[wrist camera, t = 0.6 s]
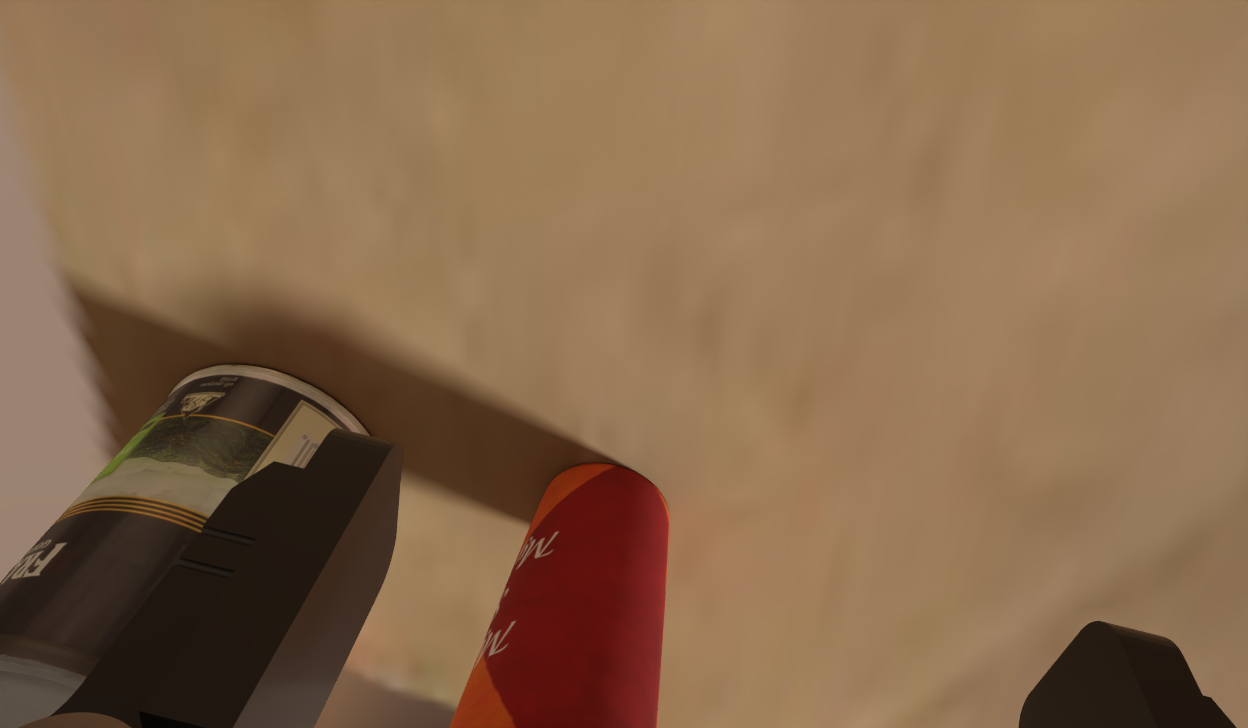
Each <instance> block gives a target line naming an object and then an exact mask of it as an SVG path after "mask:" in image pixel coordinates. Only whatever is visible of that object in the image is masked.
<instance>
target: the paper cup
mask: <svg viewBox="0 0 1248 728" xmlns="http://www.w3.org/2000/svg"><path fill="white" fill-rule="evenodd" d="M668 542H669V512H668V506H667V503H666V501H665V499H664V497H663V495H662V494H661V492H660V491H659V490H658V488H657V487H656V486H655V485H654V484H653V483H651V482H650V481H649V480H648V479H646V478H645V477H643V476H642V475H640V474H638V473H636V472H634V471H632V470H630V469H627V468H624V467H621V466H617V465H612V464H605V463H588V464H581V465H577V466H574V467H571V468H569V469H566V470H564V471H563V472H561V473H560V474H558V475H557V476H556V477H555V478H554V479H553V480H552V481H551V483H550V484H549V486H548V487H547V489H546V491H545V493H544V495H543V497H542V500H541V502H540V504H539V506H538V509H537V511H536V513H535V516H534V518H533V520H532V523H531V525H530V528H529V530H528V533H527V535H526V538H525V540H524V542H523V545H522V547H521V550H520V552H519V555H518V557H517V560H516V562H515V565H514V567H513V570H512V572H511V575H510V577H509V579H508V582H507V584H506V587H505V589H504V592H503V594H502V597H501V599H500V602H499V604H498V607H497V609H496V612H495V614H494V617H493V619H492V622H491V624H490V627H489V629H488V632H487V634H486V637H485V639H484V642H483V645H482V647H481V650H480V652H479V655H478V657H477V660H476V662H475V665H474V667H473V670H472V672H471V675H470V677H469V680H468V682H467V685H466V687H465V690H464V692H463V695H462V697H461V700H460V702H459V705H458V707H457V710H456V712H455V715H454V717H453V720H452V722H451V725H450V727H449V728H656V726H657V712H658V698H659V683H660V669H661V655H662V640H663V625H664V610H665V595H666V578H667V562H668Z"/></svg>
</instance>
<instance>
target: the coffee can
mask: <svg viewBox="0 0 1248 728" xmlns="http://www.w3.org/2000/svg"><path fill="white" fill-rule="evenodd" d="M334 428H340V429H344V430H348V431H352V432H356V433H360V434H364V435H368V436H370V435H369V434H368V432H367V431H366V429H365V428H364V427H363V426H362V425H361V424H360V422H359V421H358V420H357V419H356V418H355V417H354V416H353V415H352V414H351V413H350V412H349V411H348V410H347V409H345V408H344V407H343V406H342V405H340V404H339V403H338V402H337V401H335V400H334V399H333V398H331V397H330V396H328V395H326V394H325V393H323V392H322V391H320V390H319V389H317V388H316V387H314V386H312V385H310V384H307V383H305V382H302V381H301V380H299V379H297V378H294V377H292V376H290V375H287V374H284V373H281V372H278V371H275V370H271V369H267V368H263V367H257V366H250V365H218V366H213V367H209V368H205V369H202V370H199V371H197V372H195V373H193V374H191V375H189V376H187V377H186V378H185V379H183V380H182V381H181V382H180V383H179V384H178V385H177V386H176V387H175V388H174V389H173V391H172V392H171V393H170V395H169V396H168V398H167V399H166V401H165V402H164V403H163V404H162V405H161V406H160V407H159V408H158V410H157V411H156V412H155V413H154V414H153V416H152V417H151V418H150V419H149V420H148V421H147V422H146V423H145V424H144V425H143V426H142V427H141V429H140V430H139V431H138V432H137V433H136V434H135V435H134V436H133V437H132V438H131V440H130V441H129V442H128V443H127V444H126V445H125V446H124V448H123V449H122V450H121V451H120V452H119V453H118V454H117V455H116V456H115V457H114V459H113V460H112V461H111V462H110V463H109V464H108V465H107V466H106V467H105V468H104V470H103V471H102V472H101V473H100V474H99V475H98V476H97V477H96V478H95V479H94V481H93V482H92V483H91V484H90V485H89V486H88V487H87V488H86V489H85V490H84V492H83V493H82V494H81V495H80V496H79V497H78V498H77V499H76V500H75V501H74V502H73V503H72V504H71V506H70V507H69V508H68V509H67V510H66V511H65V512H64V513H63V514H62V516H61V517H60V518H59V519H58V520H57V521H56V522H55V523H54V524H53V525H52V526H51V527H50V529H49V530H48V531H47V532H46V533H45V534H44V535H43V536H42V538H41V539H40V540H39V541H38V542H37V543H36V544H35V545H34V546H33V547H32V548H31V549H30V551H29V552H27V554H26V555H25V556H24V557H23V558H22V559H21V560H20V562H19V563H17V564H16V565H15V566H14V568H13V569H12V570H11V571H10V572H9V573H8V574H7V576H6V577H5V578H4V579H3V580H2V582H1V583H0V728H19V727H21V726H23V725H25V724H28V723H31V722H34V721H37V720H39V719H42V718H46V717H49V716H50V715H52V714H53V713H54V712H55V711H56V710H58V709H59V708H60V707H61V706H62V705H63V704H64V703H65V702H66V701H67V700H68V699H69V698H70V697H71V696H72V695H73V694H74V693H75V691H76V690H77V689H78V688H79V687H80V685H81V684H82V683H83V682H84V680H85V679H86V678H87V676H88V675H89V674H90V672H91V671H92V670H93V668H94V667H95V666H96V665H97V663H98V662H99V661H100V659H101V658H102V657H103V655H104V654H105V653H106V651H107V650H108V649H109V648H110V646H111V645H112V644H113V642H114V641H115V640H116V638H117V637H118V636H119V635H120V633H121V632H122V631H123V629H124V628H125V627H126V625H127V624H128V623H129V621H130V620H131V619H132V618H133V616H134V615H135V614H136V612H137V611H138V610H139V608H140V607H141V606H142V604H143V603H144V602H145V601H146V599H147V598H148V597H149V595H150V594H151V593H152V591H153V590H154V589H155V587H156V586H157V585H158V584H159V582H160V581H161V580H162V578H163V577H164V576H165V574H166V573H167V572H168V571H169V569H170V568H171V567H172V565H175V566H176V564H177V563H178V560H179V556H180V555H181V554H182V552H183V551H184V550H185V548H186V547H187V546H188V544H189V543H190V542H191V540H192V539H193V538H194V537H195V535H196V534H197V533H199V534H200V533H201V531H202V529H203V525H204V523H205V522H206V521H207V520H208V518H209V517H210V516H211V514H212V513H213V512H214V510H215V509H216V508H217V507H218V505H219V504H220V503H221V501H222V500H223V499H224V497H225V496H226V495H227V493H228V492H229V491H230V490H231V488H233V487H234V486H236V485H237V484H239V483H240V482H242V481H244V480H245V479H247V478H248V477H250V476H252V475H253V474H255V473H256V472H258V471H259V470H261V469H263V468H264V467H266V466H267V465H269V464H270V463H272V462H274V461H276V462H280V463H284V464H288V465H292V466H296V467H300V468H305V466H306V465H307V463H308V462H309V460H310V459H311V457H312V456H313V454H314V453H315V452H316V450H317V449H318V447H319V446H320V444H321V443H322V441H323V440H324V438H325V437H326V436H327V434H328V433H329V432H330V431H331V430H333V429H334Z"/></svg>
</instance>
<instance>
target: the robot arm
mask: <svg viewBox="0 0 1248 728" xmlns="http://www.w3.org/2000/svg"><path fill="white" fill-rule="evenodd" d="M401 467H402V447H401V445H400V444H399V443H396V442H392V441H388V440H384V439H380V438H376V437H372V436H368V435H364V434H360V433H356V432H352V431H348V430H344V429H340V428H334V429H333V430H331V431H330V432H329V433H328V434H327V436H326V437H325V438H324V440H323V441H322V443H321V444H320V446H319V447H318V449H317V450H316V452H315V453H314V454H313V456H312V457H311V459H310V460H309V462H308V463H307V465H306V466H305V468H300V467H296V466H292V465H288V464H284V463H280V462H276V461H274V462H272V463H270V464H269V465H267V466H266V467H264V468H263V469H261V470H259V471H258V472H256V473H255V474H253V475H252V476H250V477H248V478H247V479H245V480H244V481H242V482H240V483H239V484H237V485H236V486H234V487H233V488H231V490H230V491H229V492H228V493H227V495H226V496H225V497H224V499H223V500H222V501H221V503H220V504H219V505H218V507H217V508H216V509H215V510H214V512H213V513H212V514H211V516H210V517H209V518H208V520H207V521H206V522H205V523H204V525H203V529H202V531H201V533H200V534H199V533H197V534H196V535H195V537H194V538H193V539H192V540H191V542H190V543H189V544H188V546H187V547H186V548H185V550H184V551H183V552H182V554H181V555H180V556H179V560H178V563H177V564H176V566H175V565H172V567H171V568H170V569H169V571H168V572H167V573H166V574H165V576H164V577H163V578H162V580H161V581H160V582H159V584H158V585H157V586H156V587H155V589H154V590H153V591H152V593H151V594H150V595H149V597H148V598H147V599H146V601H145V602H144V603H143V604H142V606H141V607H140V608H139V610H138V611H137V612H136V614H135V615H134V616H133V618H132V619H131V620H130V621H129V623H128V624H127V625H126V627H125V628H124V629H123V631H122V632H121V633H120V635H119V636H118V637H117V638H116V640H115V641H114V642H113V644H112V645H111V646H110V648H109V649H108V650H107V651H106V653H105V654H104V655H103V657H102V658H101V659H100V661H99V662H98V663H97V665H96V666H95V667H94V668H93V670H92V671H91V672H90V674H89V675H88V676H87V678H86V679H85V680H84V682H83V683H82V684H81V685H80V687H79V688H78V689H77V690H76V691H75V693H74V694H73V695H72V696H71V697H70V698H69V699H68V700H67V701H66V702H65V703H64V704H63V705H62V706H61V707H60V708H59V709H58V710H56V711H55V712H54V713H53V714H52V715H50V716H49V717H46V718H42V719H39V720H37V721H34V722H31V723H28V724H25V725H23V726H21V727H19V728H314V726H315V724H316V722H317V720H318V718H319V716H320V714H321V712H322V709H323V708H324V706H325V704H326V701H327V699H328V697H329V695H330V693H331V691H332V689H333V687H334V685H335V683H336V681H337V679H338V676H339V674H340V672H341V670H342V668H343V666H344V664H345V662H346V660H347V658H348V656H349V654H350V652H351V649H352V647H353V645H354V643H355V641H356V639H357V637H358V635H359V633H360V631H361V629H362V627H363V624H364V622H365V620H366V618H367V616H368V614H369V612H370V610H371V608H372V606H373V604H374V602H375V599H376V597H377V595H378V593H379V591H380V589H381V587H382V584H383V582H384V579H385V577H386V574H387V571H388V568H389V565H390V562H391V558H392V554H393V550H394V546H395V540H396V532H397V519H398V506H399V493H400V480H401ZM1019 728H1236V727H1235V725H1234V724H1233V723H1232V722H1231V721H1230V720H1229V718H1228V717H1227V716H1226V715H1225V714H1224V712H1223V711H1222V710H1221V709H1220V708H1219V707H1218V705H1217V704H1216V703H1215V702H1214V701H1213V700H1212V698H1211V697H1206V696H1203V695H1202V693H1201V691H1200V689H1199V687H1198V685H1197V683H1196V681H1195V679H1194V677H1193V675H1192V673H1191V671H1190V669H1189V666H1188V664H1187V662H1186V660H1185V658H1184V656H1183V654H1182V653H1181V651H1180V649H1179V648H1178V647H1177V646H1176V644H1175V643H1173V642H1172V641H1171V640H1169V639H1167V638H1165V637H1162V636H1158V635H1154V634H1150V633H1146V632H1142V631H1138V630H1134V629H1130V628H1126V627H1122V626H1118V625H1114V624H1110V623H1106V622H1101V621H1094V622H1091V623H1089V624H1088V625H1086V626H1085V627H1084V628H1083V629H1082V630H1081V631H1080V632H1079V633H1078V635H1077V636H1076V637H1075V638H1074V640H1073V641H1072V642H1071V643H1070V645H1069V646H1068V647H1067V648H1066V649H1065V651H1064V652H1063V653H1062V654H1061V656H1060V657H1059V658H1058V659H1057V660H1056V662H1055V663H1054V664H1053V665H1052V667H1051V668H1050V669H1049V670H1048V672H1047V673H1046V674H1045V675H1044V676H1043V678H1042V679H1041V680H1040V681H1039V683H1038V684H1037V685H1036V686H1035V688H1034V689H1033V690H1032V691H1031V692H1030V694H1029V695H1028V697H1027V698H1026V700H1025V702H1024V705H1023V708H1022V711H1021V715H1020V721H1019Z"/></svg>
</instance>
